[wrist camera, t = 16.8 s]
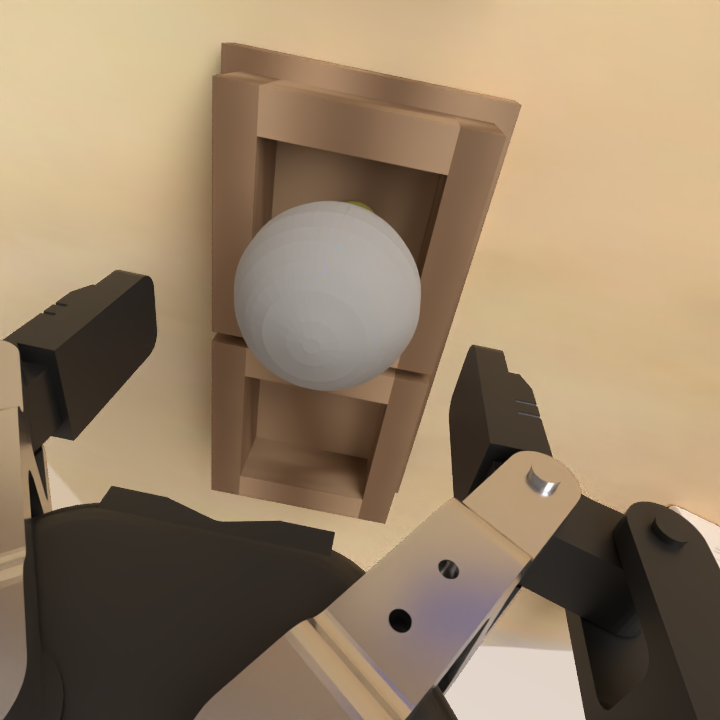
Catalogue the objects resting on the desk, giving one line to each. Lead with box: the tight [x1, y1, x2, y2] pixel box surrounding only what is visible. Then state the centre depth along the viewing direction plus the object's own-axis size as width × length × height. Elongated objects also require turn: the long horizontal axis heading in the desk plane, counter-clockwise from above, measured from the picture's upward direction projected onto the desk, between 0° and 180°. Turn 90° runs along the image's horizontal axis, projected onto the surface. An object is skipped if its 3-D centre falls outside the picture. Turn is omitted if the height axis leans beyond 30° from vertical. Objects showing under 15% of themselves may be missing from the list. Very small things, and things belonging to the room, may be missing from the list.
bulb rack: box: [212, 43, 521, 524], centre depth 23 cm, size 11×21×4 cm, turn 170°
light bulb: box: [234, 201, 421, 391], centre depth 16 cm, size 6×5×10 cm
